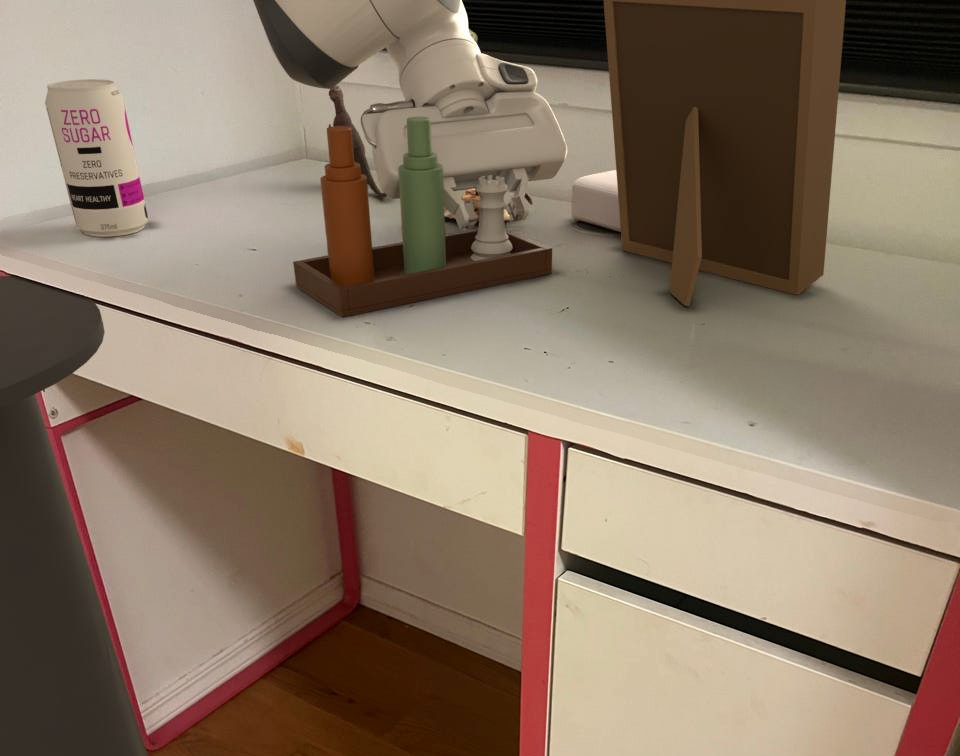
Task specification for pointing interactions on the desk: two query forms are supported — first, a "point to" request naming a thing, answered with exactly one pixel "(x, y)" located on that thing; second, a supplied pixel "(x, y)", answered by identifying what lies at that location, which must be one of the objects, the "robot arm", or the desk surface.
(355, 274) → the amber bottle
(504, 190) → the rook chess piece
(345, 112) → the dinosaur model
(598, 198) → the charger
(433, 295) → the tray
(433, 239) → the sage bottle
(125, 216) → the supplement can
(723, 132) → the photo frame
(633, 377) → the desk surface
